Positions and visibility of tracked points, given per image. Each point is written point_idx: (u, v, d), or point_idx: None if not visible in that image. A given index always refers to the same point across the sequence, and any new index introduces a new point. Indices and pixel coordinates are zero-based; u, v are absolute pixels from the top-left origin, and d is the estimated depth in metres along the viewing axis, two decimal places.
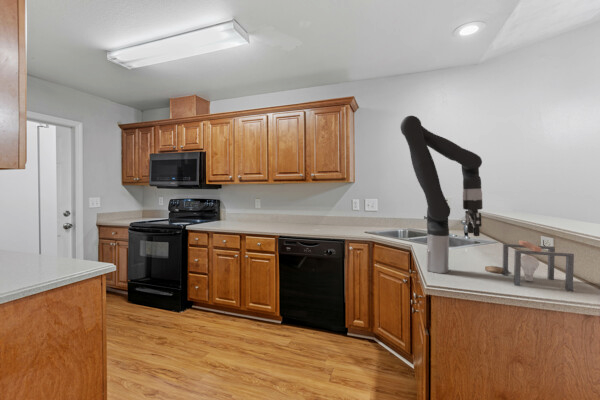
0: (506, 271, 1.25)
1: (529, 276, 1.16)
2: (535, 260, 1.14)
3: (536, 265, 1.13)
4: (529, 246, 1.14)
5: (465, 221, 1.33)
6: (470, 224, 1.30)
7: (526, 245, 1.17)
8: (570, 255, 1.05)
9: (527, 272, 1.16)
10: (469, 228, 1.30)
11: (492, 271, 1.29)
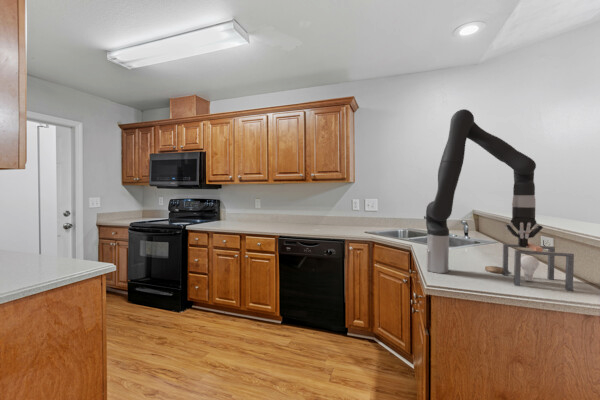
0: (506, 271, 1.25)
1: (529, 276, 1.16)
2: (535, 260, 1.14)
3: (536, 265, 1.13)
4: (530, 246, 1.14)
5: (516, 235, 1.17)
6: None
7: None
8: (570, 255, 1.05)
9: (527, 272, 1.16)
10: None
11: (492, 271, 1.29)
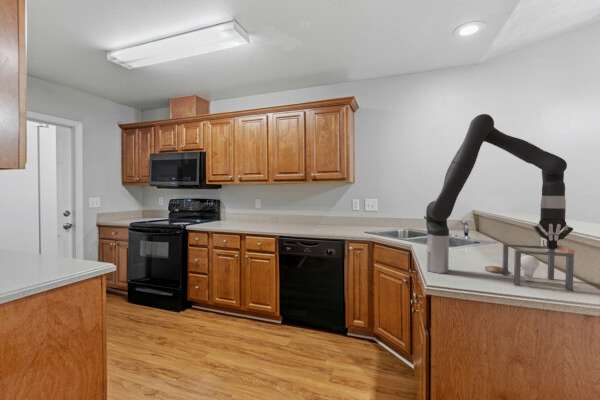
0: (506, 271, 1.25)
1: (529, 276, 1.16)
2: (535, 260, 1.14)
3: (536, 265, 1.13)
4: (561, 248, 1.10)
5: (545, 236, 1.13)
6: None
7: (557, 247, 1.13)
8: (570, 255, 1.05)
9: (527, 272, 1.16)
10: None
11: (492, 271, 1.29)
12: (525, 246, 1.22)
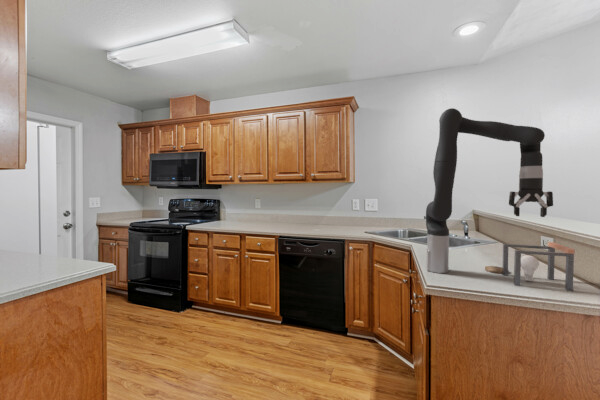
0: (506, 271, 1.25)
1: (529, 276, 1.16)
2: (535, 260, 1.14)
3: (536, 265, 1.13)
4: (561, 248, 1.10)
5: (512, 203, 1.17)
6: None
7: (557, 247, 1.13)
8: (570, 255, 1.05)
9: (527, 272, 1.16)
10: None
11: (492, 271, 1.29)
12: (525, 246, 1.22)
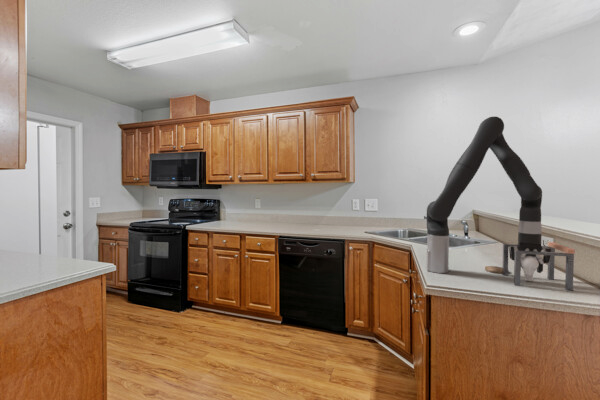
0: (506, 271, 1.25)
1: (529, 276, 1.15)
2: (535, 260, 1.14)
3: (536, 265, 1.13)
4: (561, 248, 1.10)
5: (513, 258, 1.17)
6: None
7: (557, 247, 1.13)
8: (570, 255, 1.05)
9: (527, 272, 1.16)
10: None
11: (492, 271, 1.29)
12: None
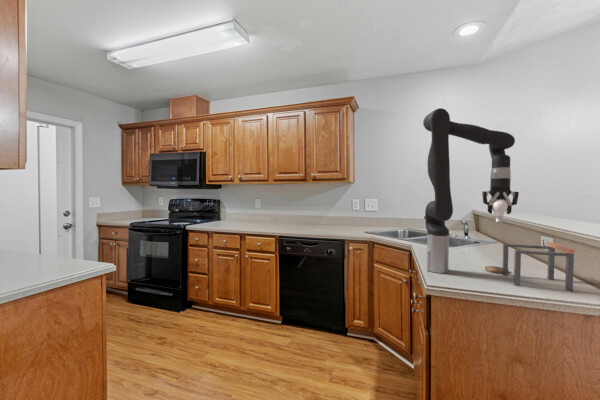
0: (506, 271, 1.25)
1: (499, 217, 1.29)
2: (504, 202, 1.27)
3: (505, 206, 1.27)
4: (561, 248, 1.10)
5: (485, 202, 1.31)
6: None
7: (557, 247, 1.13)
8: (570, 255, 1.05)
9: (497, 214, 1.29)
10: None
11: (492, 271, 1.29)
12: (525, 246, 1.22)
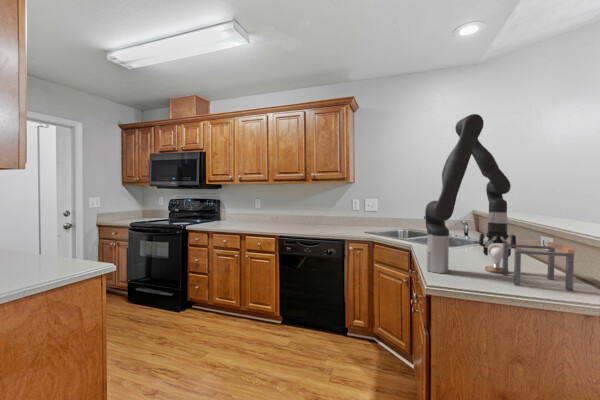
0: (506, 271, 1.25)
1: (496, 264, 1.30)
2: (502, 250, 1.29)
3: (502, 254, 1.28)
4: (561, 248, 1.10)
5: (481, 244, 1.32)
6: None
7: (557, 247, 1.13)
8: (570, 255, 1.05)
9: (495, 260, 1.30)
10: None
11: (492, 271, 1.29)
12: (525, 246, 1.22)
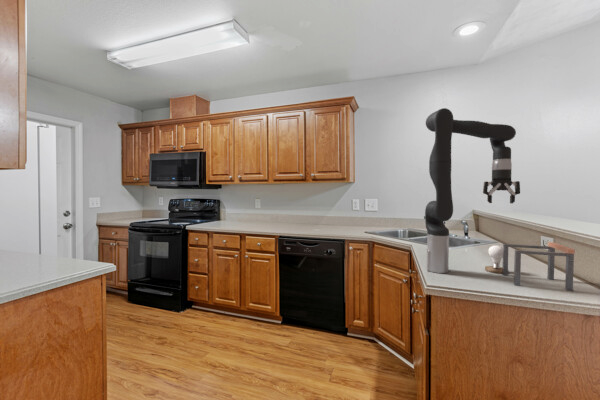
0: (506, 271, 1.25)
1: (496, 264, 1.30)
2: (501, 249, 1.29)
3: (502, 254, 1.28)
4: (561, 248, 1.10)
5: (485, 192, 1.34)
6: None
7: (557, 247, 1.13)
8: (570, 255, 1.05)
9: (495, 260, 1.31)
10: None
11: (492, 271, 1.29)
12: (525, 246, 1.22)
